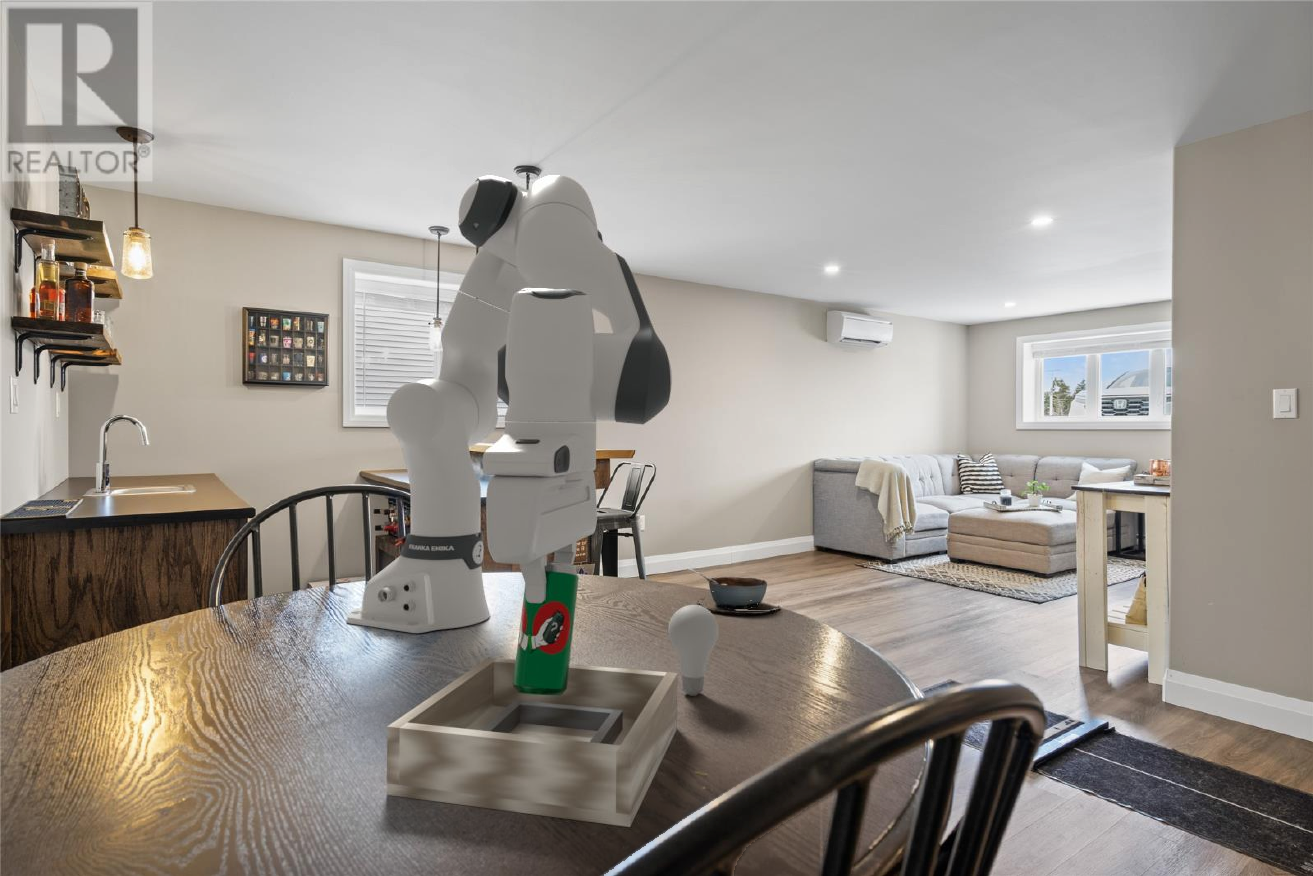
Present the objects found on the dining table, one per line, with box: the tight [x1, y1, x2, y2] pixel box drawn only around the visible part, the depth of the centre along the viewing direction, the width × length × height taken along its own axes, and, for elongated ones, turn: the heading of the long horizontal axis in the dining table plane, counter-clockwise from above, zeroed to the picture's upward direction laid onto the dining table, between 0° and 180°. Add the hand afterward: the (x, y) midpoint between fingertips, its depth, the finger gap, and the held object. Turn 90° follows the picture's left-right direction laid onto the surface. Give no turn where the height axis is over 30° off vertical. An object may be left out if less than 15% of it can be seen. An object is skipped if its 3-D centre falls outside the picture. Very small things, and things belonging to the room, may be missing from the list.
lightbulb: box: [667, 604, 720, 697], centre depth 88 cm, size 6×6×11 cm
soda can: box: [513, 560, 580, 695], centre depth 69 cm, size 5×5×12 cm
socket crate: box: [386, 657, 679, 828], centre depth 71 cm, size 22×20×6 cm
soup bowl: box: [687, 567, 781, 615], centre depth 131 cm, size 15×16×7 cm
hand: (549, 594), depth 71 cm, fingers closed on soda can, 5 cm apart
